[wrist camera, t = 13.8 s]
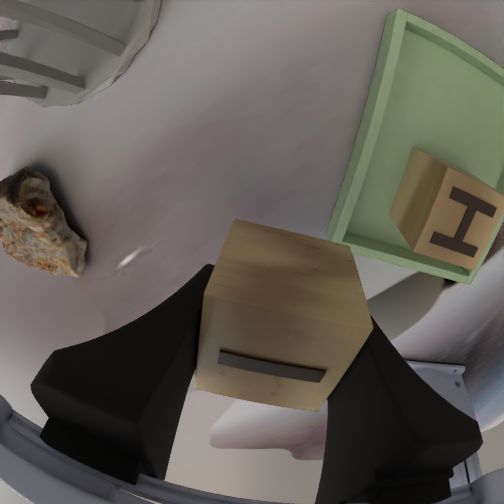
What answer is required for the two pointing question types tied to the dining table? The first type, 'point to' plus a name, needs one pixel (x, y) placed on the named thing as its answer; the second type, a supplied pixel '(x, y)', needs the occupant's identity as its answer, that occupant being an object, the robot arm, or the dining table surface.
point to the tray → (419, 136)
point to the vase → (71, 46)
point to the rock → (38, 226)
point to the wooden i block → (280, 318)
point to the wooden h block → (445, 210)
